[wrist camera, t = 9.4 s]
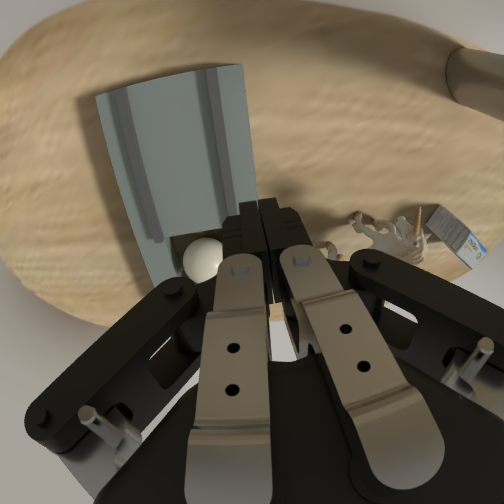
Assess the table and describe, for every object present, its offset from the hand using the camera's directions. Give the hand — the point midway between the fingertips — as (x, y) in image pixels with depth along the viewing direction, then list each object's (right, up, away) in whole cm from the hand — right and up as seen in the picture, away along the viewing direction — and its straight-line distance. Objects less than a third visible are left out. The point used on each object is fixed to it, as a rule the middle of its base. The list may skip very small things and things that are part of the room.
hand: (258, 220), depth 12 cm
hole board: (-7, +5, +24) cm, 25 cm away
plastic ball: (-6, -2, +26) cm, 27 cm away
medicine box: (+32, +4, +31) cm, 45 cm away
